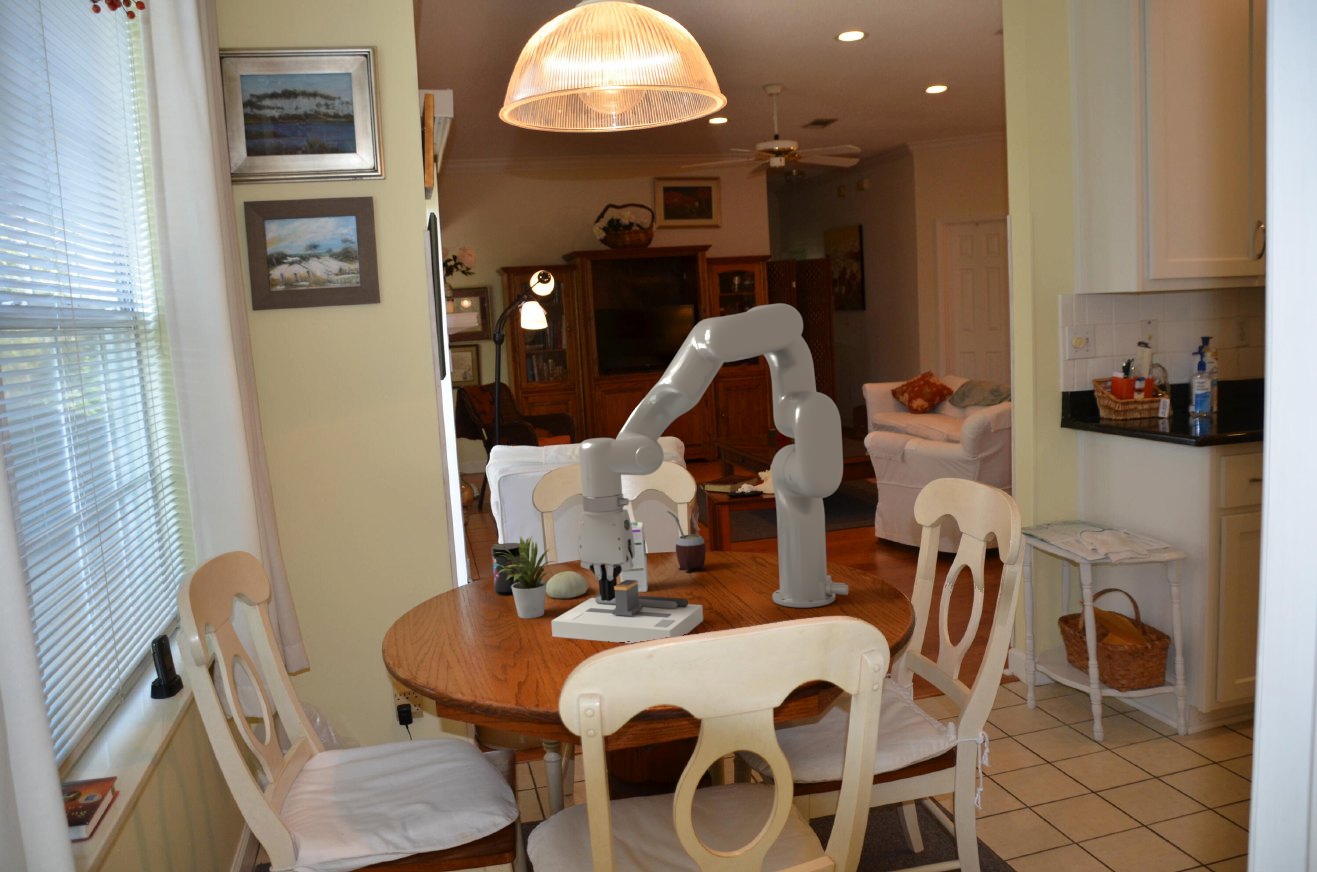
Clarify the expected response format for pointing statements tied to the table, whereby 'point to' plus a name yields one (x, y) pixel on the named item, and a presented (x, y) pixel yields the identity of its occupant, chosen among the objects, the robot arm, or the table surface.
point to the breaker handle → (627, 598)
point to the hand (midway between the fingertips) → (608, 598)
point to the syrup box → (638, 559)
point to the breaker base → (628, 620)
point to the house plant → (528, 580)
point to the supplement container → (500, 578)
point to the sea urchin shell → (566, 585)
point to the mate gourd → (690, 550)
